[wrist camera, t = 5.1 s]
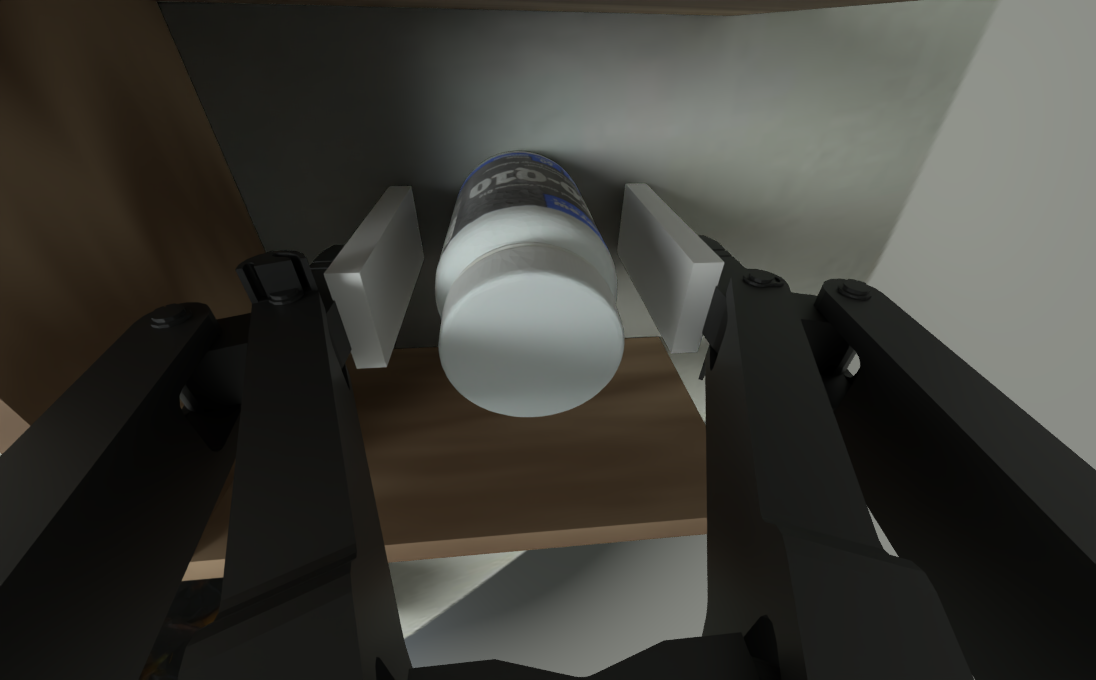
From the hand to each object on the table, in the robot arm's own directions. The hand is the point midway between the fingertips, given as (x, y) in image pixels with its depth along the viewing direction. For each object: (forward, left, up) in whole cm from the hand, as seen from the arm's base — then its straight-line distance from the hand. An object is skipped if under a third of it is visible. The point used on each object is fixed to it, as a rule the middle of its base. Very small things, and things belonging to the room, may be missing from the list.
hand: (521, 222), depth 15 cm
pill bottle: (0, 0, 0) cm, 1 cm away
